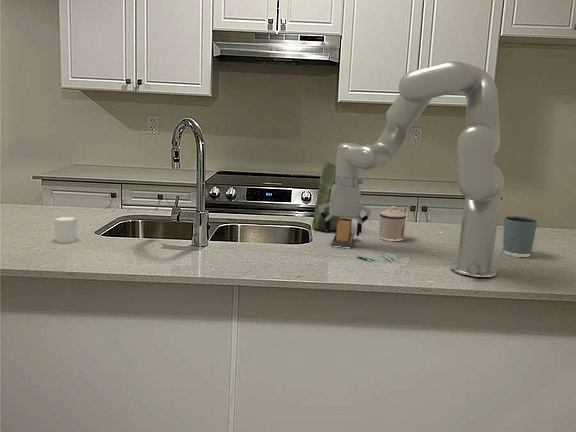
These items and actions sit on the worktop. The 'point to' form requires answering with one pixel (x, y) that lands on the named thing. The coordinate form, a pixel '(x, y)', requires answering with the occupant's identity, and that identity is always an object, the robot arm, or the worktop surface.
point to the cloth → (391, 256)
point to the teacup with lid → (392, 224)
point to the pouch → (325, 197)
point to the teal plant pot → (519, 234)
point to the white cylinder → (65, 229)
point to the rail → (347, 244)
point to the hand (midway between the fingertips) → (343, 233)
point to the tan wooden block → (343, 231)
